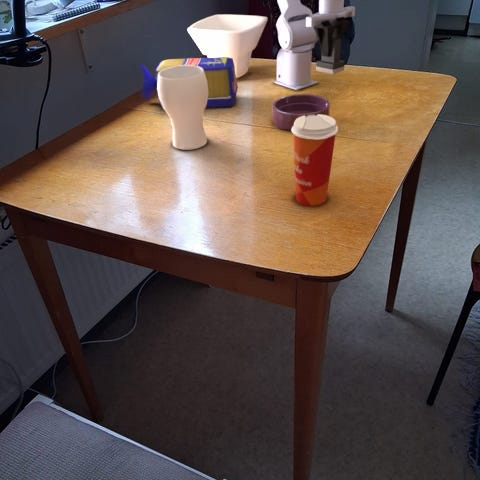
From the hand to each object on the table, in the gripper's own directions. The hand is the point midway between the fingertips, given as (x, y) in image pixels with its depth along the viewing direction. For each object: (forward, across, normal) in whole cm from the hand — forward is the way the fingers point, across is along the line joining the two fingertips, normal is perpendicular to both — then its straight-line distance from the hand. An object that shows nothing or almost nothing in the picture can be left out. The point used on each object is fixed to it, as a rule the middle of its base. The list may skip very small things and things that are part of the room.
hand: (329, 55), depth 120 cm
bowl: (+9, -7, +33) cm, 35 cm away
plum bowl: (+10, -16, -7) cm, 21 cm away
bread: (+9, -28, +23) cm, 37 cm away
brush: (+3, 0, 0) cm, 4 cm away
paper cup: (+12, -40, -35) cm, 55 cm away
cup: (+10, -42, +2) cm, 44 cm away
